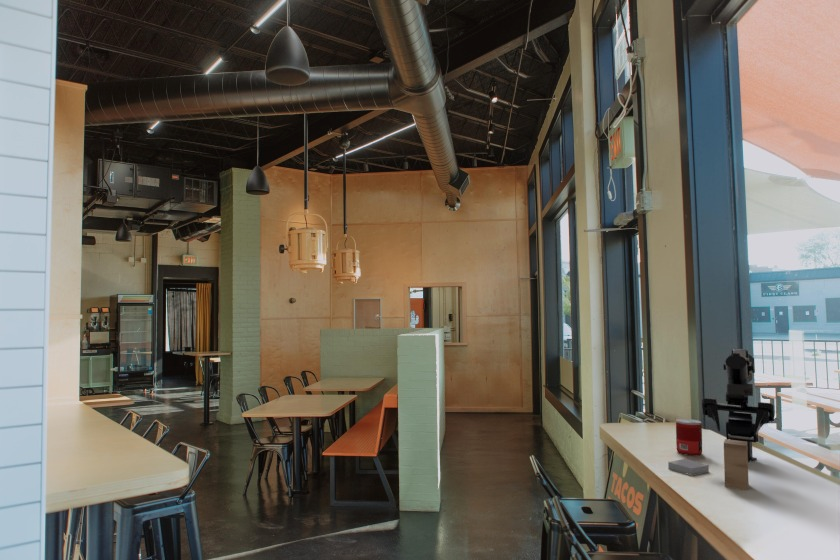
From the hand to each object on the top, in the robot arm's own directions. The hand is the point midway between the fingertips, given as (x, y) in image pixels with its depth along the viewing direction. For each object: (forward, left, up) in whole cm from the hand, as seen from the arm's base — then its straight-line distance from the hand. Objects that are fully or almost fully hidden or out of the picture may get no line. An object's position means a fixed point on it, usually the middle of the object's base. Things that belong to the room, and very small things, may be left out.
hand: (736, 432), depth 160 cm
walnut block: (+7, +5, -13) cm, 15 cm away
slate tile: (+7, -11, -14) cm, 19 cm away
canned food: (-11, -26, -13) cm, 32 cm away
